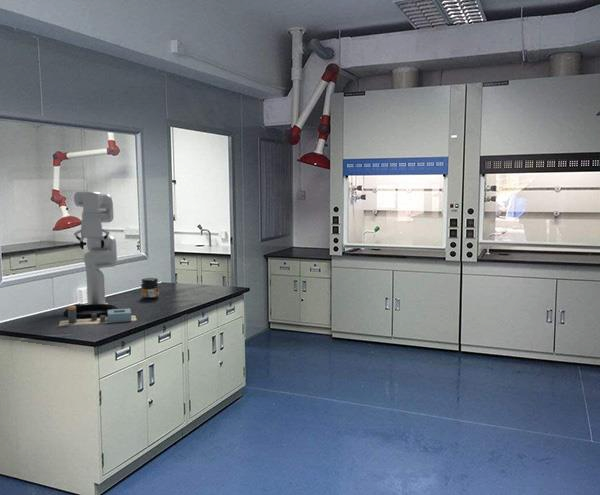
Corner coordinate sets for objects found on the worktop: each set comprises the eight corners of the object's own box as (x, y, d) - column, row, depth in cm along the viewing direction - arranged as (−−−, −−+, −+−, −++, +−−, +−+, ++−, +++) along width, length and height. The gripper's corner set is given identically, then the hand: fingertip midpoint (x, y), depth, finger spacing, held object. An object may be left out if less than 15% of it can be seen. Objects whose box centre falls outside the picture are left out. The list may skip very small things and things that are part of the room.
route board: (60, 323, 276) (59, 315, 276) (135, 317, 288) (135, 310, 288) (58, 328, 265) (58, 320, 264) (136, 322, 277) (136, 315, 277)
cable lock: (80, 316, 275) (50, 308, 294) (81, 324, 276) (50, 315, 294) (128, 307, 297) (97, 300, 315) (128, 314, 297) (98, 307, 316)
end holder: (107, 317, 283) (107, 309, 283) (130, 315, 287) (130, 308, 287) (108, 322, 273) (108, 314, 272) (131, 320, 277) (131, 312, 276)
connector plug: (68, 322, 273) (68, 306, 273) (76, 321, 275) (76, 305, 274) (68, 323, 270) (67, 307, 269) (76, 323, 271) (75, 307, 270)
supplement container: (152, 300, 333) (152, 280, 331) (137, 299, 336) (137, 279, 335) (162, 297, 342) (162, 278, 341) (147, 296, 346) (147, 277, 345)
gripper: (107, 215, 294) (108, 247, 296) (72, 215, 286) (73, 248, 288) (109, 215, 288) (110, 248, 289) (74, 216, 280) (75, 249, 281)
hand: (92, 248), depth 288 cm, fingers open, 9 cm apart
